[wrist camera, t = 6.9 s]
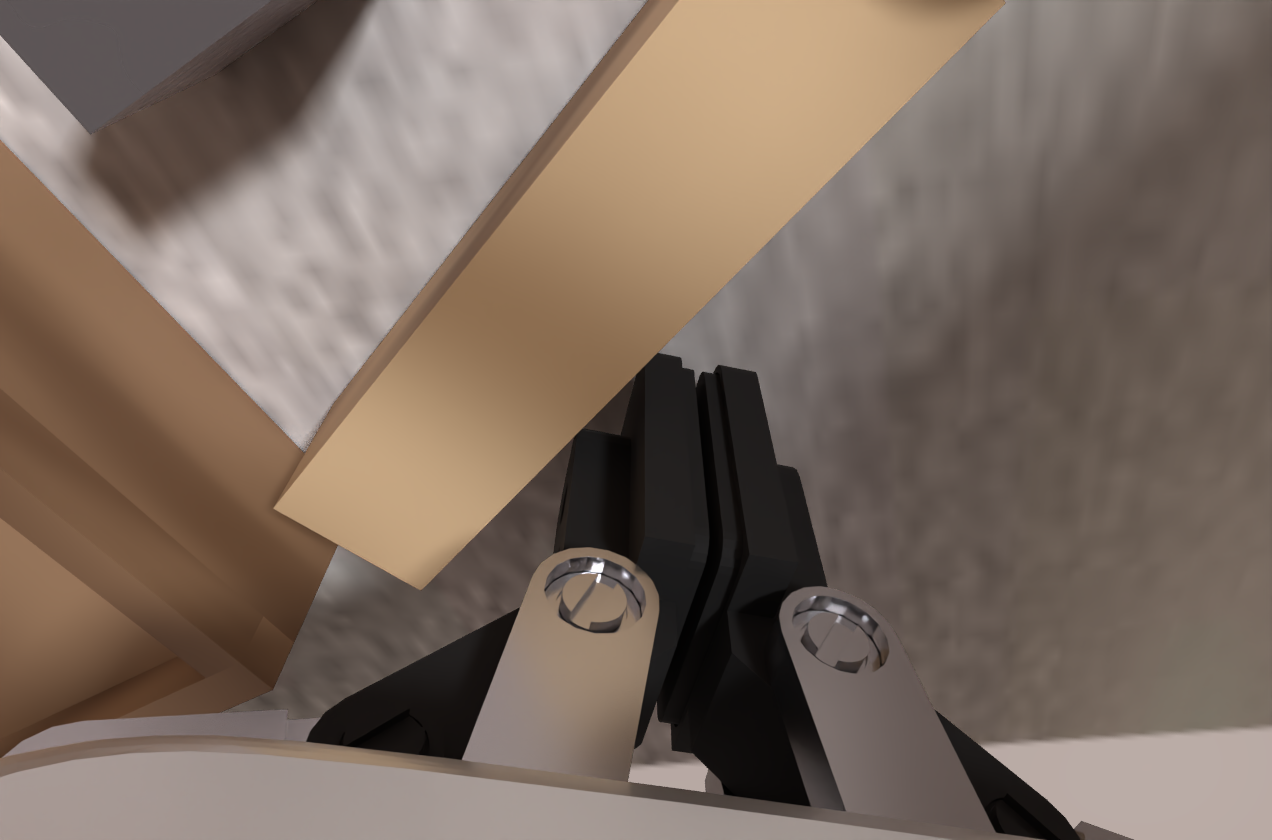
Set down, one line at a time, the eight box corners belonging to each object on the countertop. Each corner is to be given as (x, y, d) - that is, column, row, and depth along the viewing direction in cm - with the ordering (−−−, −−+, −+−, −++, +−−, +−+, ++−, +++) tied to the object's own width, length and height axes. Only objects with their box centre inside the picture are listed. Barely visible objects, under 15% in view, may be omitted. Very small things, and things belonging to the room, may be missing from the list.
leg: (1013, -565, 7) (1166, -746, 5) (1203, -256, 8) (1392, -298, 6) (303, 384, 12) (236, 488, 10) (480, 494, 14) (452, 607, 12)
